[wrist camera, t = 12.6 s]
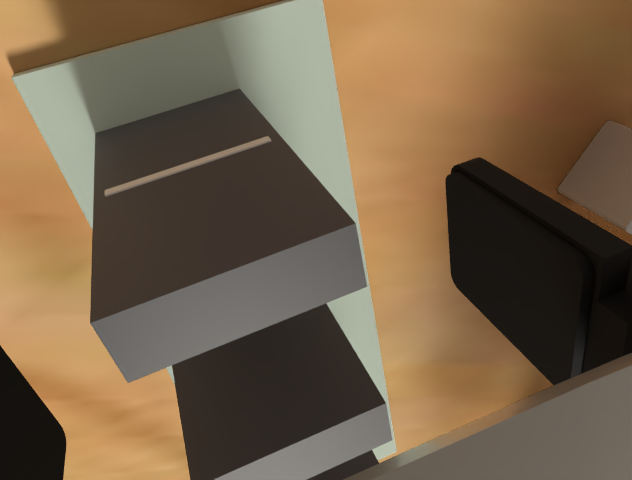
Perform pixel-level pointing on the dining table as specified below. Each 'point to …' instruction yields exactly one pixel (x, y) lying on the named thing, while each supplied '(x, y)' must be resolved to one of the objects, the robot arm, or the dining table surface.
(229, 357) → the domino
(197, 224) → the domino
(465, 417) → the dining table surface
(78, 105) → the mat
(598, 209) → the lighter
